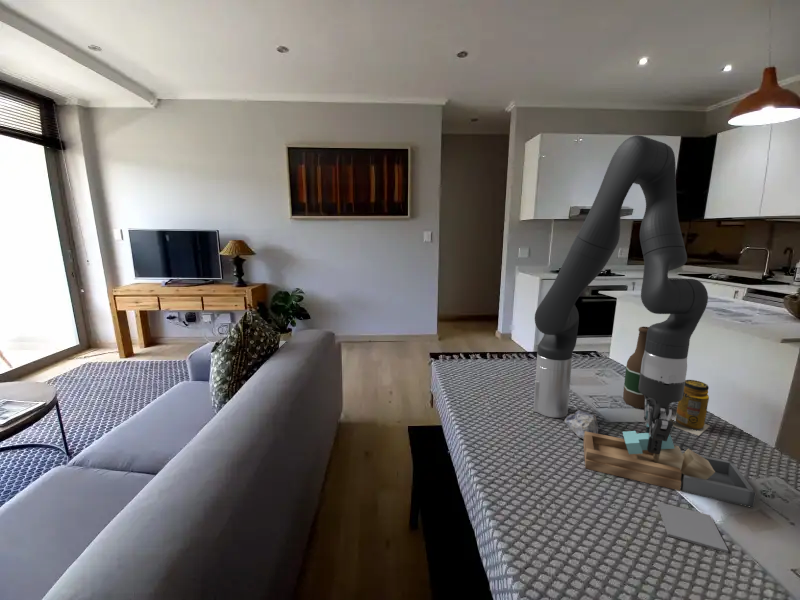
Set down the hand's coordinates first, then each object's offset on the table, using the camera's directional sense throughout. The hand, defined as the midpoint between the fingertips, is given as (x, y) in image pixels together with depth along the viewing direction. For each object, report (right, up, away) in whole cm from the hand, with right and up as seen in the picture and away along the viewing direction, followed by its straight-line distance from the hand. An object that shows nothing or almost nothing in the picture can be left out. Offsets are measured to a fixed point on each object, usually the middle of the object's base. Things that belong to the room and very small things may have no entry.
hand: (652, 448), depth 76 cm
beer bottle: (+18, 0, +31) cm, 36 cm away
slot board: (-4, -5, +3) cm, 7 cm away
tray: (+9, -6, -3) cm, 11 cm away
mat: (-3, -8, -14) cm, 16 cm away
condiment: (+23, -2, +19) cm, 30 cm away
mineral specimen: (-7, -3, +16) cm, 18 cm away
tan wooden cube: (+3, -3, -1) cm, 4 cm away
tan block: (+6, -4, -2) cm, 8 cm away
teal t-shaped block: (-4, 0, +2) cm, 5 cm away
